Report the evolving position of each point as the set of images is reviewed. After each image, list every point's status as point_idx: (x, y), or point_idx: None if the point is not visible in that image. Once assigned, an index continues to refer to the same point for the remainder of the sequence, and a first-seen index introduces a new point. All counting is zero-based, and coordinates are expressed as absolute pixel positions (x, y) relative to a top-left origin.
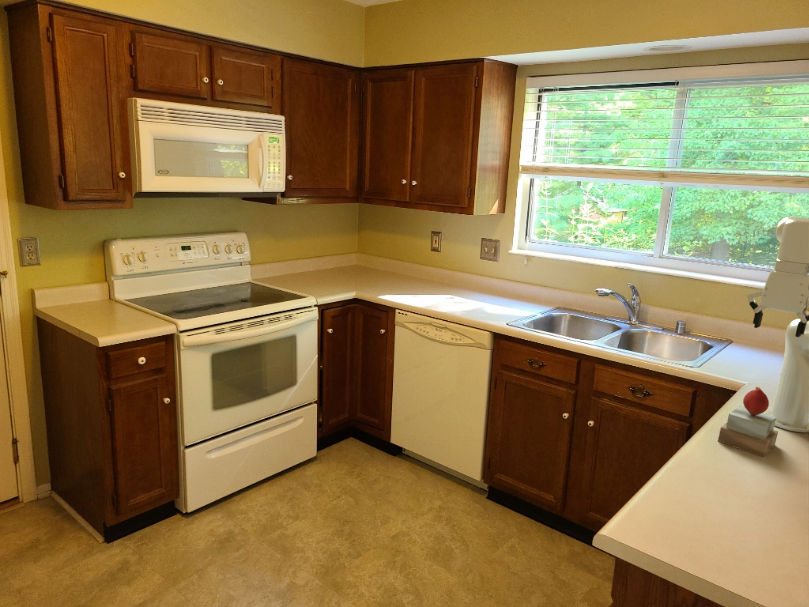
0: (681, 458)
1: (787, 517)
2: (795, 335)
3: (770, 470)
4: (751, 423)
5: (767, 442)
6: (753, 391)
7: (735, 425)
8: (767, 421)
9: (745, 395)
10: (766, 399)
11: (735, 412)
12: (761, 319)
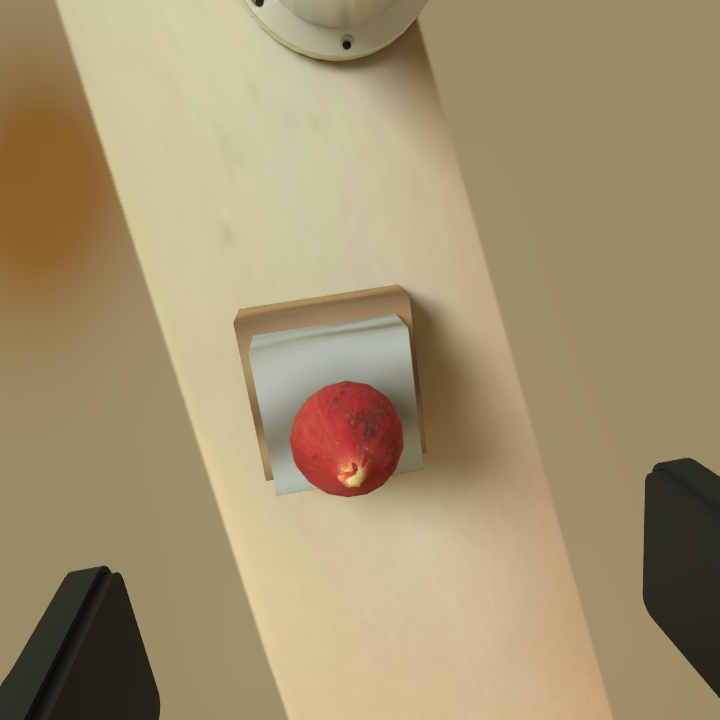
0: (280, 662)
1: (572, 682)
2: (653, 616)
3: (464, 498)
4: None
5: (423, 435)
6: (336, 484)
7: None
8: (407, 420)
9: (299, 468)
10: (398, 455)
11: (283, 454)
12: (78, 680)
